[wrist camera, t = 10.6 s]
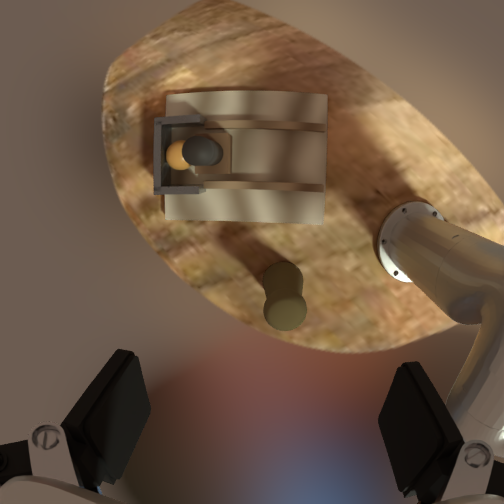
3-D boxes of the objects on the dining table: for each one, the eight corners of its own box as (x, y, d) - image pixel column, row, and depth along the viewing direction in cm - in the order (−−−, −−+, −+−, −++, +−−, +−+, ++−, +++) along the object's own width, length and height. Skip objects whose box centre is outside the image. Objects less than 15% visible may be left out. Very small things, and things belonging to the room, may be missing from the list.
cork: (256, 269, 43) (251, 302, 33) (295, 256, 42) (302, 285, 32) (270, 304, 45) (269, 344, 34) (308, 292, 44) (317, 329, 33)
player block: (232, 136, 37) (217, 124, 26) (231, 173, 38) (216, 175, 28) (202, 136, 37) (177, 126, 26) (202, 173, 38) (176, 176, 28)
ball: (161, 141, 36) (186, 141, 38) (160, 170, 37) (186, 169, 39) (174, 138, 33) (202, 139, 35) (174, 170, 34) (202, 169, 36)
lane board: (325, 96, 36) (329, 91, 33) (321, 222, 41) (325, 227, 38) (169, 97, 37) (162, 92, 34) (168, 218, 42) (161, 221, 39)
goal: (207, 119, 36) (200, 114, 33) (205, 191, 39) (198, 194, 35) (165, 121, 37) (154, 117, 33) (164, 191, 40) (153, 194, 36)
